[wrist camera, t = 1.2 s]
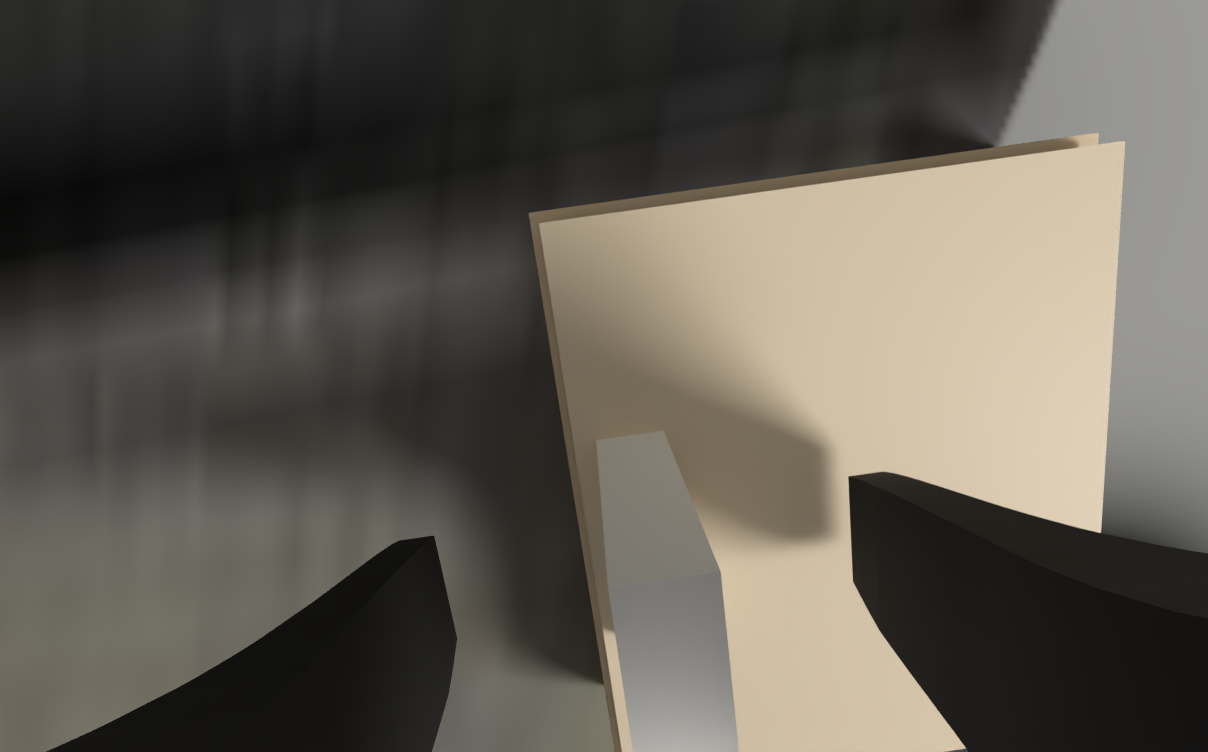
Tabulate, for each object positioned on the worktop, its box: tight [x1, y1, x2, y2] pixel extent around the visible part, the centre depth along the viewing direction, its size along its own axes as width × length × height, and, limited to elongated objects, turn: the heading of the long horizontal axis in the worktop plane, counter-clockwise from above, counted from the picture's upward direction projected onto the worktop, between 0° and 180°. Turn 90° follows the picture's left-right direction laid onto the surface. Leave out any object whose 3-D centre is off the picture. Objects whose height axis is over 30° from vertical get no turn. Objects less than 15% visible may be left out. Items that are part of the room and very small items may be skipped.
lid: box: [539, 141, 1125, 752], centre depth 10 cm, size 12×10×5 cm
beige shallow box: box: [529, 133, 1099, 752], centre depth 14 cm, size 12×10×3 cm
